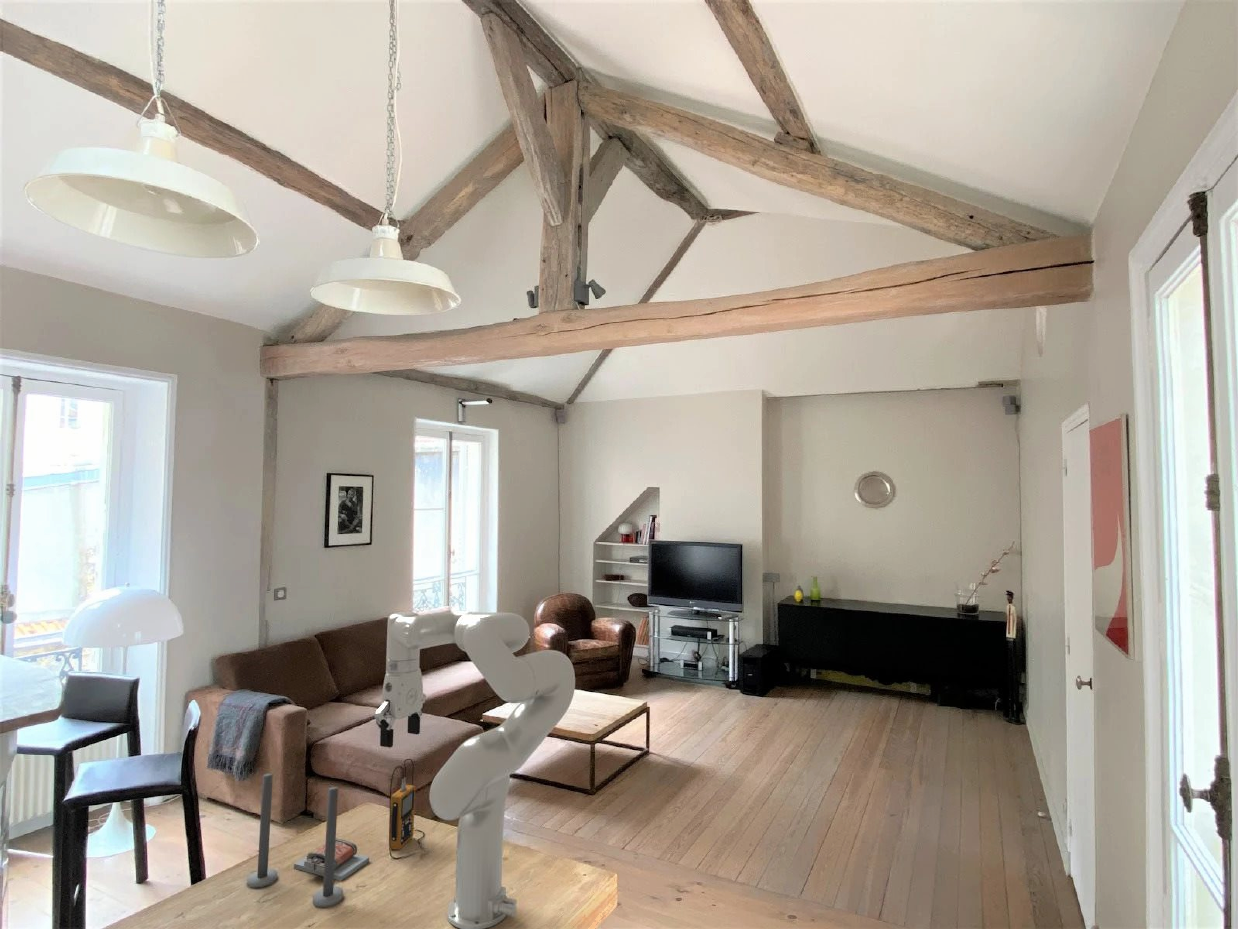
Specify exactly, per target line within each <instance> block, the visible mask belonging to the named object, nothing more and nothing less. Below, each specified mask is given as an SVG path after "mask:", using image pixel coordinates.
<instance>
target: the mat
mask: <svg viewBox="0 0 1238 929" xmlns="http://www.w3.org/2000/svg"><path fill="white" fill-rule="evenodd" d="M306 860H307V855H306V856H305V857H303V858H302V859H300V860H298V861H296V862H295V863H294V865H293V869H295V870H298V871H303V872H306V873H311V874H315V875H318V876H321V877H324V872H321V871H318V870H314V871H311V870H310V868H308V867H305V866H304V862H305V861H306ZM367 862H368V863H369V862H370V857H369V856H366V855H362V854H358V853H356V854H355V855H354V856H353V857H350V858H348V859H347V860H346V861H344V862H343V863H341V864H340V865H339V866H337V867H336V869H334V880H337V881H340V882H341V881H343V880H345V879H346V878H348V877H349V876H350V875H352V874H353V873H354V872H356V871H357V869H358V870H359V869H361V868H362V867H363V866H365V865H367ZM361 866H362V867H361Z"/></svg>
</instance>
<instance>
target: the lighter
mask: <svg viewBox="0 0 1238 929" xmlns="http://www.w3.org/2000/svg"><path fill="white" fill-rule="evenodd" d="M325 844H326V843H324V844H322V845H321V846H319V847H318V848H317V849H315V850H314V851H311V852H309V853H308V854H307V855H306V856H307V860H306V861H305V862H304V866H305V867H308V868H310V870H311V871H314V870H318V871H321V872H324V865H325ZM355 854H358V846H357V845H356V843H353V842H351V841H350V840H347V839H343V838H337V837H336V844H335V864H334V869H336V867H337V866H339V865H340V864H341V863H343V862H344V861H346V860H347V859H348V858H350V857H353V856H354V855H355Z"/></svg>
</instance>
